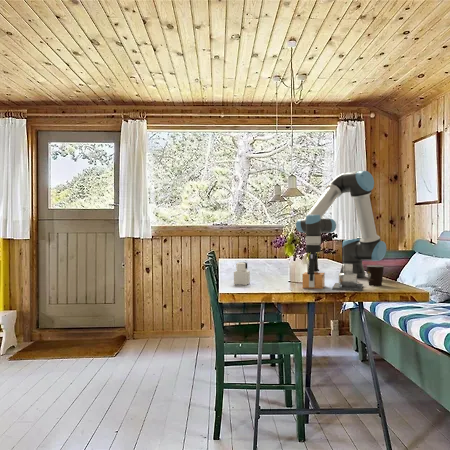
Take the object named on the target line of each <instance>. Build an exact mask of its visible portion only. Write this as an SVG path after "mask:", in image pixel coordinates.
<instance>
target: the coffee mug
mask: <svg viewBox="0 0 450 450" xmlns="http://www.w3.org/2000/svg"><path fill="white" fill-rule="evenodd" d="M384 268H385V267H384V266H383V265H373V264H371V265H370V264H369V265H366V270H365V273H366V274H367V279H368V280H367V282H368V286H371V285H374V286H373V287H382V286H381V285H382V284H383V279H384V278H383V276H384Z"/></svg>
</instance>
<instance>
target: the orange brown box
mask: <svg viewBox="0 0 450 450" xmlns="http://www.w3.org/2000/svg"><path fill="white" fill-rule="evenodd" d="M307 272H308V271H304V273H302V274H301V275H302V279H301V280H302V289H316V290H317V289H322V290H323V289H324V287H325V284H326V282H325V272H318V273H315V272H314V274H315V287H309V274H307Z"/></svg>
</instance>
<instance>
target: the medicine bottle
mask: <svg viewBox="0 0 450 450" xmlns="http://www.w3.org/2000/svg"><path fill="white" fill-rule="evenodd" d="M235 266H236V267H235V269H236V270H235V271H233V285H234V284H243V285H242V286H247V284H248V285H250V284H251V272H250V270H248V262H245V261H243V262H242V261H239V262H236V265H235ZM249 283H250V284H249Z"/></svg>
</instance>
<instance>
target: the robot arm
mask: <svg viewBox="0 0 450 450" xmlns="http://www.w3.org/2000/svg"><path fill="white" fill-rule="evenodd" d="M374 187H375V180H374V176H373V174H371V172H369V171H368V170H356V171H349V172H343V173H340V174H338V175H337V176H336V177H334V178H333V179H332V180H331V181H330V182H329V183H328V184H327V186H326V188H325V191H324V192H323V193H322V195H321V196H320V197H319V199H318V200H317V201H316V202H315V204H314V205H313V206H312V207H311V209H310V210H309V212H307V214H306V215H305V217H304V218H301V219H300V218H299V219H297V221H296V223H295V228H296V231H298V232H299V233H304V234H305V238H304V240H305V244H306V245H305V252H306V253H310V254H309V255H308V271H306V272H307V274H309V287H315V274H314V272H315V273H319V272H320V269H319V262H318V258H319V257H318V256H319V255H318V253H321V251H322V250H321V249H322V248H321V247H322V246H321V244H322V236H321V235H322V234H321V233H323V234H324V233H325V234H326V233H327V234H330V233H334V232H335V231H336V229H337V223H336V220H335V219H333V218H323V217H324V216H325V213H326V212H327V211H328V210H329V209H330V207H331V206H332V205H333V204H334V202H335V201H336V199H337V198H340V197H341V196H342V195H343V194H345V193H350V194H349V195H350V197H351V198H353V200H354V206H355V210H356V215H357V219H358V224H359V229H360V235H361V237H360V238H348V239H344V240H343V241H342V246H341V248H342V249H341V250H342V263H341V264H342V266H341V268H340V271H339V273H343V264H353V273H355V274H357V279H359V278H366V270H365V267H364V265H363V261H371V262H380V261H382V260H383V259H384V257H385V256H386V254H387V244H386V242H385V241H383V240H381V236H380V235H378V233H377V229H376V228H377V227H376V224H375V219H374V213H373V208H372V203H371V197H370V196H371V194H372V190H373V189H374Z"/></svg>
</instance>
